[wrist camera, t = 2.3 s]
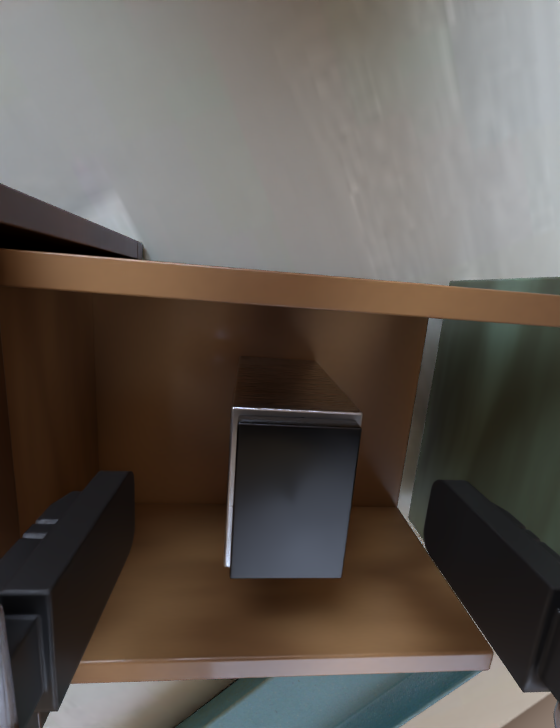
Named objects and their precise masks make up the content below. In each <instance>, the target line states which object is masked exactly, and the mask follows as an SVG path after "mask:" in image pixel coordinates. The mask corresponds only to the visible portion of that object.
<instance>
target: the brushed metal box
mask: <svg viewBox="0 0 560 728" xmlns="http://www.w3.org/2000/svg"><path fill="white" fill-rule="evenodd" d="M362 416H363V414H362V412H361V411H360V410H359V409H358V407H357V406H356V405H355V404H354V403H353V402H352V401H351V400H350V399H349V397H348V396H347V395H346V394H345V393H344V392H343V391H342V390H341V388H340V387H339V386H338V385H337V384H336V383H335V382H334V381H333V380H332V378H331V377H330V376H329V375H328V374H327V373H326V372H325V371H324V370H323V368H322V367H321V366H320V365H319V364H318V363H317V362H316V361H313V360H296V359H280V358H263V357H246V356H241V357H240V358H239V364H238V370H237V376H236V382H235V388H234V394H233V400H232V406H231V421H230V441H229V461H228V482H227V502H226V523H225V543H224V567H230V572H229V577H230V578H231V579H294V578H342V573H343V565H344V558H345V550H346V543H347V536H348V528H349V521H350V514H351V506H352V499H353V491H354V484H355V477H356V469H357V462H358V455H359V447H360V440H361V432H362V428H361V423H362Z"/></svg>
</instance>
